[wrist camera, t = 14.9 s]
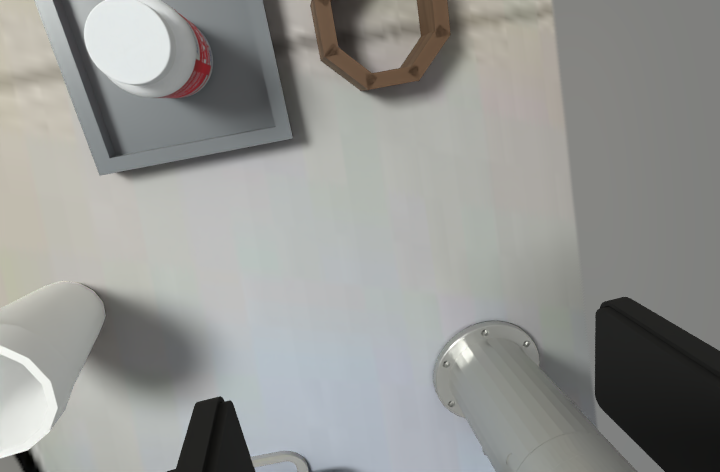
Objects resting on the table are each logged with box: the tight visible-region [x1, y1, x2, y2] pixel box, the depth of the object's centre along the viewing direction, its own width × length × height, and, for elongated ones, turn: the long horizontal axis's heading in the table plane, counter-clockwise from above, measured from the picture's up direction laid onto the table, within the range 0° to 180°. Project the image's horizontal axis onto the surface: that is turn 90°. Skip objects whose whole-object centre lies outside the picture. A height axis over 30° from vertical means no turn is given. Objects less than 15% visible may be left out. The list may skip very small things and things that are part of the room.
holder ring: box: [310, 0, 450, 91], centre depth 36 cm, size 10×10×4 cm
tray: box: [34, 0, 293, 175], centre depth 35 cm, size 16×16×2 cm
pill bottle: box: [84, 0, 213, 98], centre depth 30 cm, size 6×6×11 cm
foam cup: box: [0, 281, 106, 458], centre depth 35 cm, size 10×9×13 cm
